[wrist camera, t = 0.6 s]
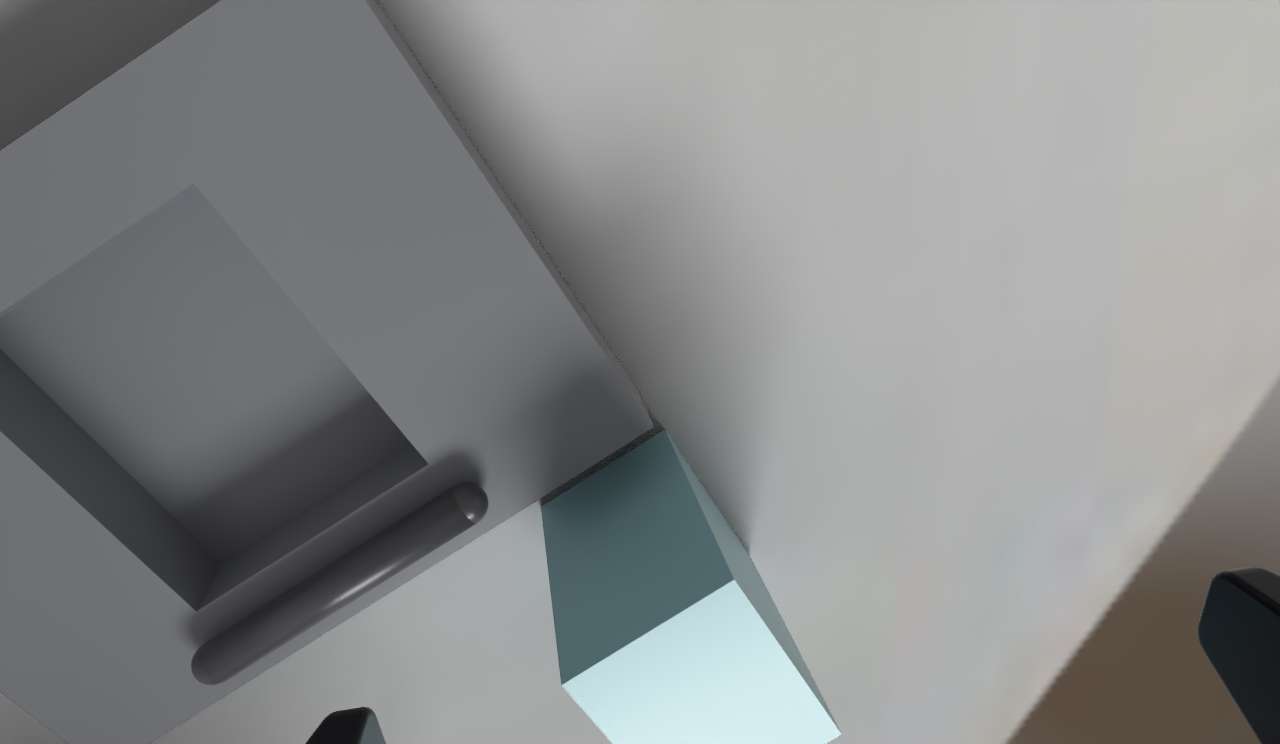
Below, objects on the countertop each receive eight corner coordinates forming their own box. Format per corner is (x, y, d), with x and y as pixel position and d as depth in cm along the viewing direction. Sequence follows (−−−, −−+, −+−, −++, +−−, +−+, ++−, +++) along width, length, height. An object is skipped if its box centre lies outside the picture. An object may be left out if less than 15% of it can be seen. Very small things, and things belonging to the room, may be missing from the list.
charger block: (634, 625, 25) (685, 827, 19) (540, 506, 23) (561, 685, 17) (749, 555, 25) (841, 734, 18) (664, 428, 23) (734, 579, 16)
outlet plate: (142, 699, 23) (86, 805, 20) (-265, 359, 18) (-426, 426, 15) (636, 387, 22) (662, 445, 19) (341, -53, 17) (308, -75, 14)
